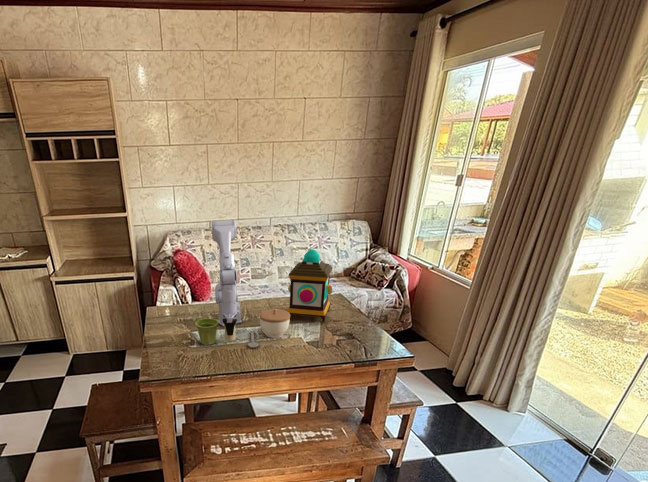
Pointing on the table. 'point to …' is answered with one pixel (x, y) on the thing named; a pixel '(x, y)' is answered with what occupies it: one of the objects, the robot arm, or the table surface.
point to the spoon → (253, 342)
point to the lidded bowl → (274, 322)
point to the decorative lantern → (310, 287)
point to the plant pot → (207, 330)
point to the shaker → (232, 337)
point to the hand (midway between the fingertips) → (230, 332)
